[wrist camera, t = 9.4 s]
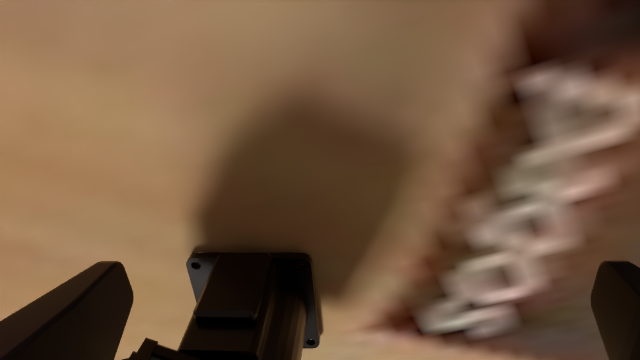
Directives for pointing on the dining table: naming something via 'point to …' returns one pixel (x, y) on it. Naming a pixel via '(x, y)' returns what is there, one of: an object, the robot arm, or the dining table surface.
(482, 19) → the dining table surface
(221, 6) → the dining table surface
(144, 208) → the dining table surface
